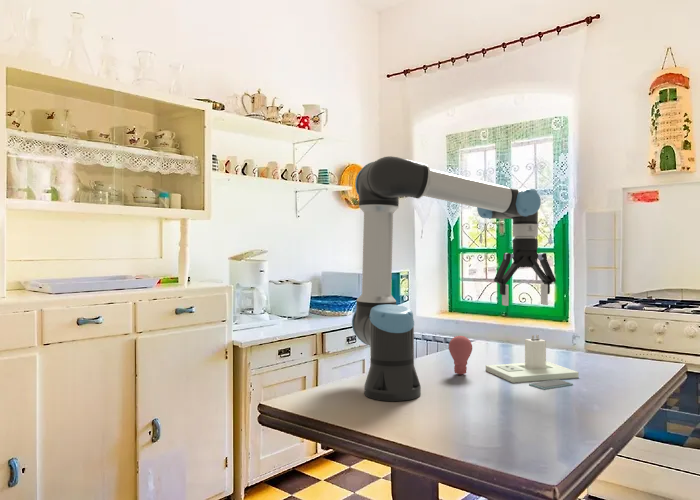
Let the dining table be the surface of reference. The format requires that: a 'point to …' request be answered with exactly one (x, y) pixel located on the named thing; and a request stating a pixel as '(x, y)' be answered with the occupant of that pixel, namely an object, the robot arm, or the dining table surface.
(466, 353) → the light bulb
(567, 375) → the outlet plate
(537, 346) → the charger
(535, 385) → the phone
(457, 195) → the robot arm
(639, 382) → the dining table surface
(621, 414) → the dining table surface
